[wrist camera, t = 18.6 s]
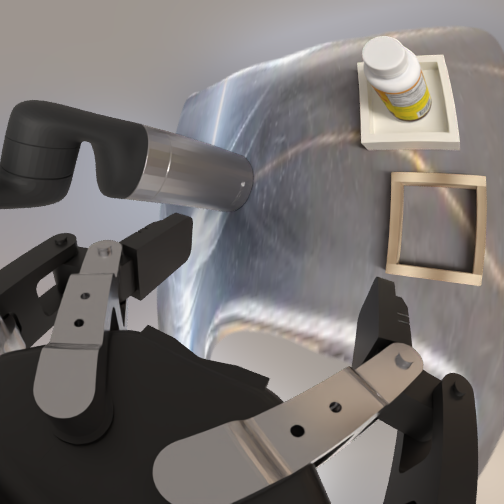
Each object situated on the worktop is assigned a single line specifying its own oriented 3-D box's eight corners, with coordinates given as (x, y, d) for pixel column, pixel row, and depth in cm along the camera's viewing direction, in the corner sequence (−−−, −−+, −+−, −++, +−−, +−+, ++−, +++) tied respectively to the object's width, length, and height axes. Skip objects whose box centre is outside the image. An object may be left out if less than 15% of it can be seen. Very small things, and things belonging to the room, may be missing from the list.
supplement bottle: (385, 84, 27) (351, 33, 19) (429, 82, 23) (408, 26, 15) (388, 125, 27) (354, 80, 19) (434, 125, 23) (418, 74, 16)
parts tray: (368, 150, 30) (361, 143, 28) (364, 73, 29) (357, 62, 27) (460, 150, 22) (459, 142, 21) (445, 66, 22) (443, 54, 20)
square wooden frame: (389, 272, 28) (385, 273, 27) (395, 176, 28) (391, 172, 26) (479, 284, 22) (480, 285, 20) (484, 180, 21) (485, 176, 20)
